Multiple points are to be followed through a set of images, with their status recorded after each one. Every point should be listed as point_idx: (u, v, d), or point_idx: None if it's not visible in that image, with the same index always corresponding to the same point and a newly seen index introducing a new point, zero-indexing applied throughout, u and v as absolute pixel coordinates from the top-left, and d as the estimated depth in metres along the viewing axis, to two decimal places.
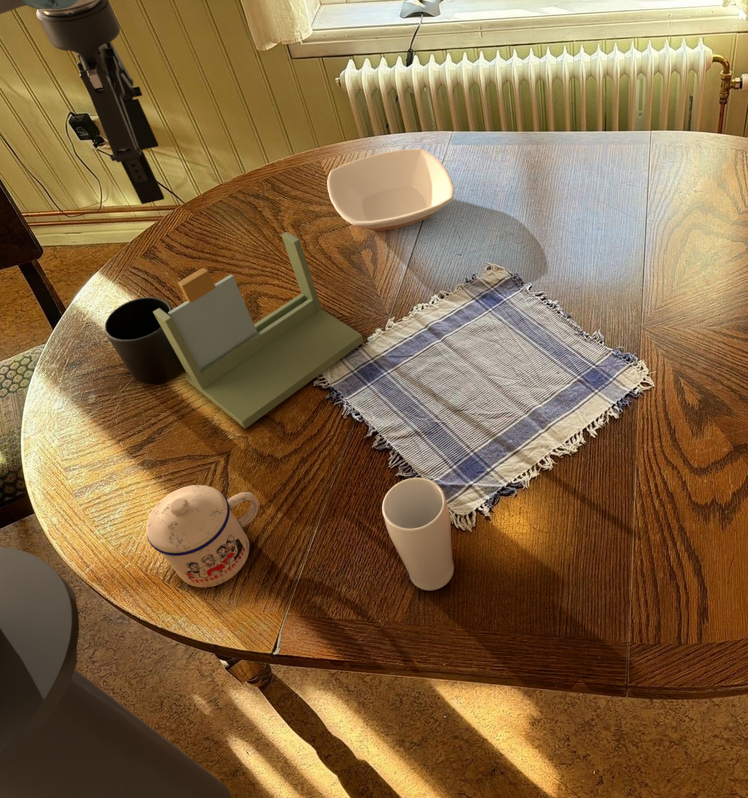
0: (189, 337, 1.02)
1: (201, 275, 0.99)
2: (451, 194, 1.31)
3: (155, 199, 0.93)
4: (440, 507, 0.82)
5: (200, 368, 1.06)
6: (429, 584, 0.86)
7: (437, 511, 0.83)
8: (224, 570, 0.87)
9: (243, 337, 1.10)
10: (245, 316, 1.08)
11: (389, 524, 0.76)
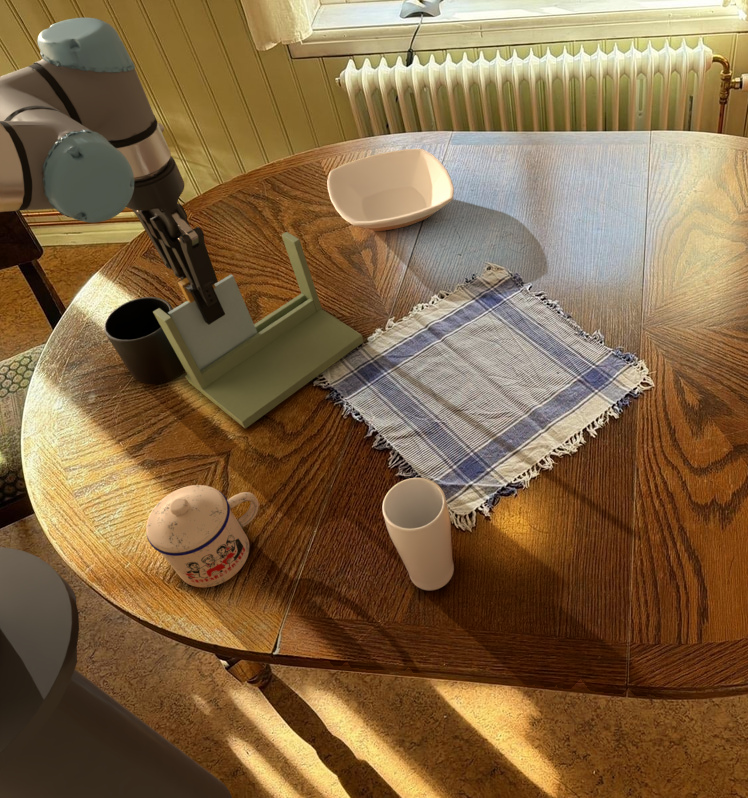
0: (189, 337, 1.02)
1: None
2: (451, 194, 1.31)
3: (218, 316, 1.03)
4: (440, 507, 0.82)
5: (200, 368, 1.06)
6: (429, 584, 0.86)
7: (437, 511, 0.83)
8: (224, 570, 0.87)
9: (243, 337, 1.10)
10: (245, 316, 1.08)
11: (389, 524, 0.76)
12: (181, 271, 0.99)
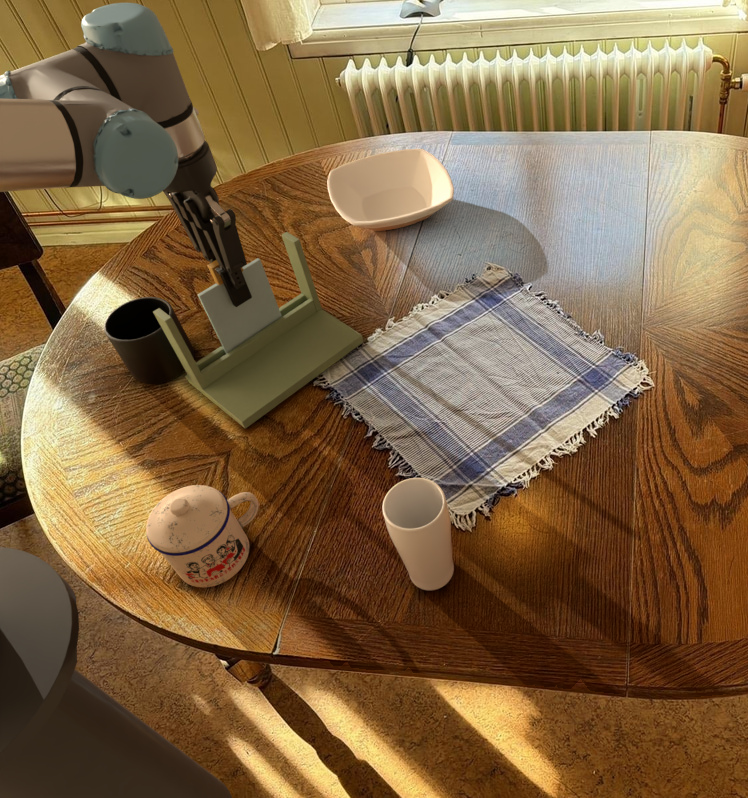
0: (217, 319, 1.05)
1: None
2: (451, 194, 1.31)
3: (246, 299, 1.06)
4: (440, 507, 0.82)
5: (227, 350, 1.09)
6: (429, 584, 0.86)
7: (437, 511, 0.83)
8: (224, 570, 0.87)
9: (268, 321, 1.12)
10: (270, 300, 1.10)
11: (389, 524, 0.76)
12: (210, 254, 1.01)
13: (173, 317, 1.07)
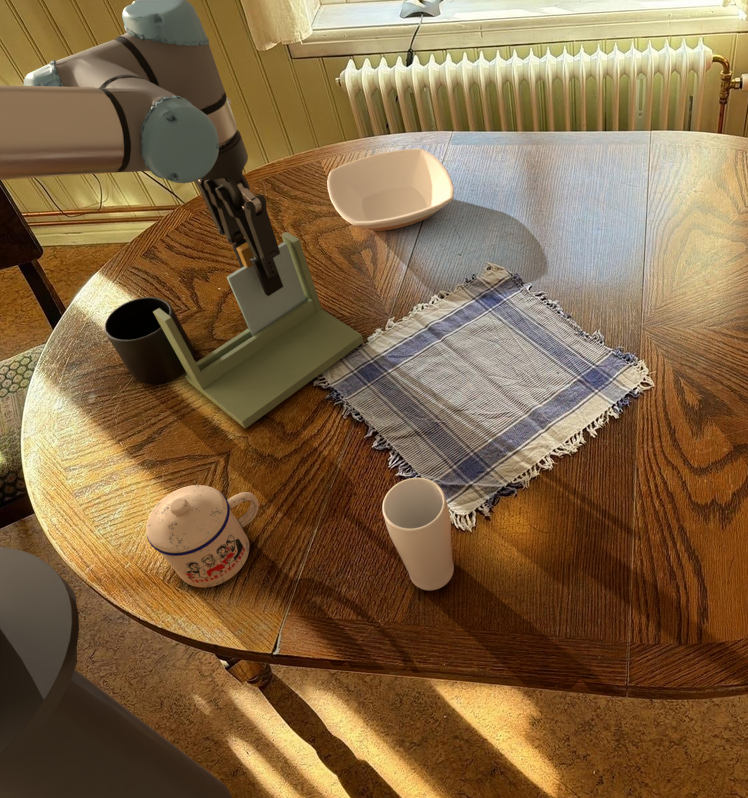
0: (245, 302, 1.07)
1: None
2: (451, 194, 1.31)
3: (277, 288, 1.08)
4: (440, 507, 0.82)
5: (253, 333, 1.11)
6: (429, 584, 0.86)
7: (437, 511, 0.83)
8: (224, 570, 0.87)
9: (293, 304, 1.14)
10: (296, 283, 1.13)
11: (389, 524, 0.76)
12: (234, 237, 1.04)
13: (173, 317, 1.07)
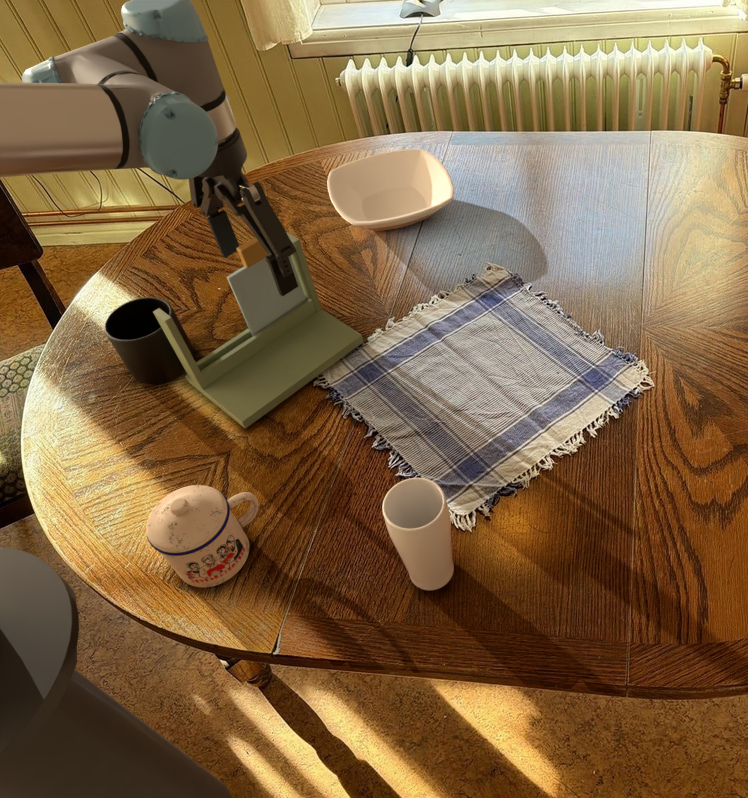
0: (245, 302, 1.07)
1: (258, 241, 1.03)
2: (451, 194, 1.31)
3: (292, 288, 1.04)
4: (440, 507, 0.82)
5: (253, 333, 1.11)
6: (429, 584, 0.86)
7: (437, 511, 0.83)
8: (224, 570, 0.87)
9: (293, 304, 1.14)
10: None
11: (389, 524, 0.76)
12: (209, 212, 1.04)
13: (173, 317, 1.07)
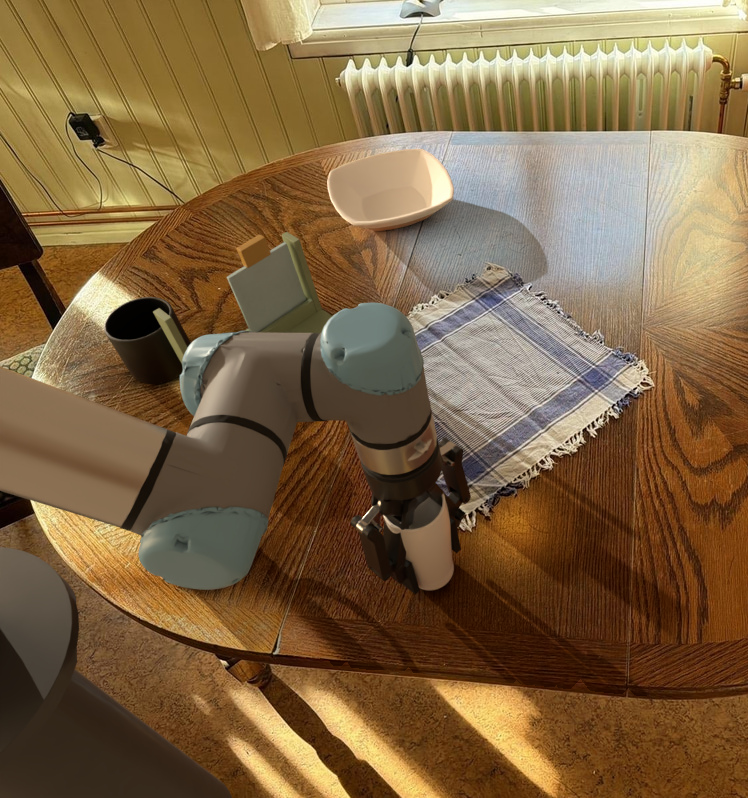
0: (245, 302, 1.07)
1: (258, 241, 1.03)
2: (451, 194, 1.31)
3: (409, 589, 0.85)
4: (440, 507, 0.82)
5: None
6: (429, 584, 0.86)
7: (437, 511, 0.83)
8: None
9: (293, 304, 1.14)
10: (296, 283, 1.13)
11: (389, 524, 0.76)
12: None
13: (173, 317, 1.07)
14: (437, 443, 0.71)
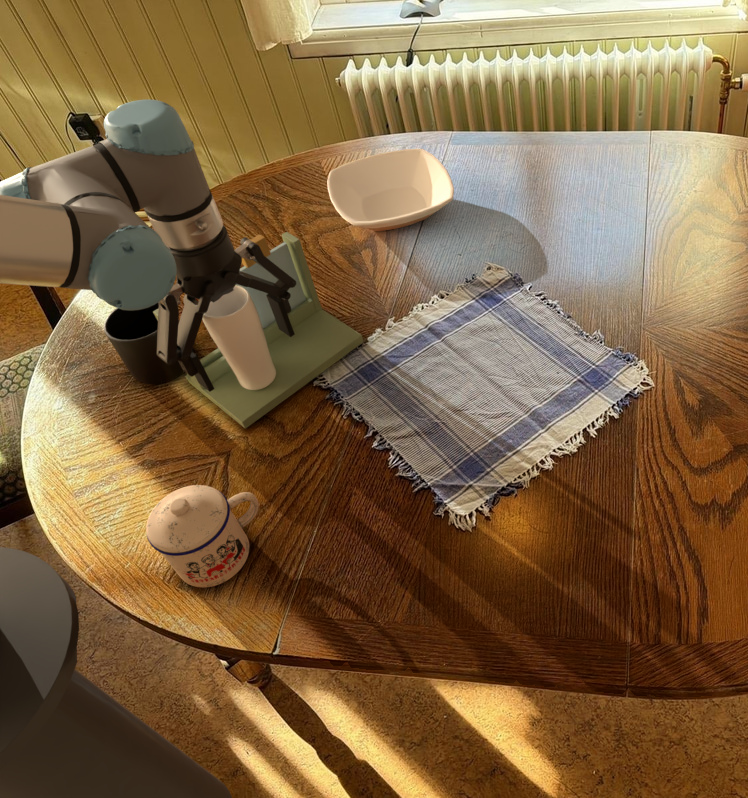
0: None
1: (258, 241, 1.03)
2: (451, 194, 1.31)
3: (205, 387, 1.01)
4: None
5: None
6: (251, 383, 1.05)
7: None
8: (224, 570, 0.87)
9: (293, 304, 1.14)
10: (296, 283, 1.13)
11: None
12: None
13: None
14: (225, 233, 0.90)
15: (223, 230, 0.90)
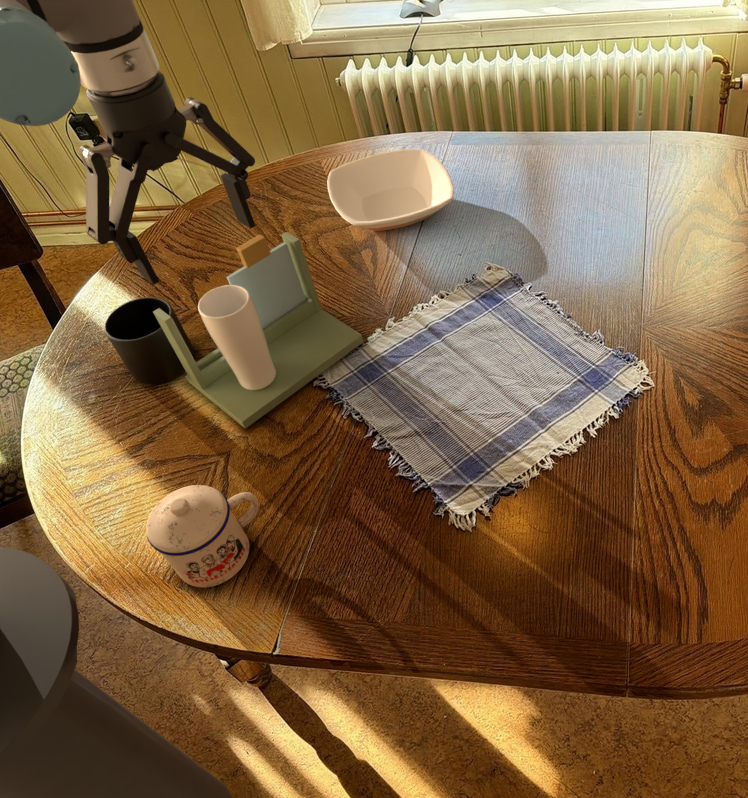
0: None
1: (258, 241, 1.03)
2: (451, 194, 1.31)
3: (148, 279, 0.87)
4: None
5: None
6: (251, 383, 1.05)
7: None
8: (224, 570, 0.87)
9: (293, 304, 1.14)
10: (296, 283, 1.13)
11: (201, 315, 0.96)
12: None
13: (173, 317, 1.07)
14: (163, 80, 0.75)
15: (160, 77, 0.75)
